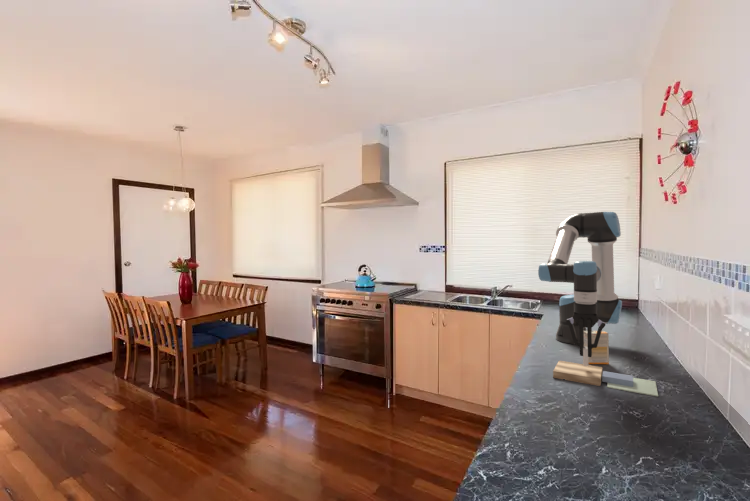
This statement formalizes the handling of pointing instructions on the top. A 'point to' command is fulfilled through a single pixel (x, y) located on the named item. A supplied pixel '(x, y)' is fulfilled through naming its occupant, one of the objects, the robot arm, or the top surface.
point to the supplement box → (598, 348)
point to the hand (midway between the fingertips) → (585, 364)
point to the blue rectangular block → (617, 378)
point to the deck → (578, 373)
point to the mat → (638, 387)
